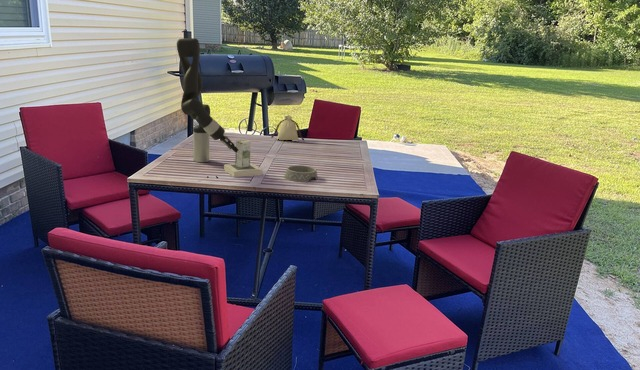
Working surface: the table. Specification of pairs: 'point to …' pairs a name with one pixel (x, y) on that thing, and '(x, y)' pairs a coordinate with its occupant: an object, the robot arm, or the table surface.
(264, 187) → the table surface
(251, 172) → the plinth
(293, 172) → the dog bowl
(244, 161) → the syrup box
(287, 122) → the pouch
